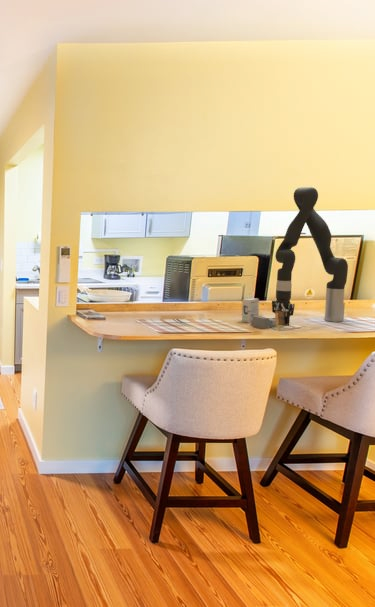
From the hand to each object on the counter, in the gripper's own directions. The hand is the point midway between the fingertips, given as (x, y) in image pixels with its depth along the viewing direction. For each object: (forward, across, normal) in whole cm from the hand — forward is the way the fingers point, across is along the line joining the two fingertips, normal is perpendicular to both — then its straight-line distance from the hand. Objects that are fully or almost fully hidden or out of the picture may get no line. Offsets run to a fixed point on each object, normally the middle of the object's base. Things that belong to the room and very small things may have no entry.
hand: (282, 322), depth 291 cm
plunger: (+1, -3, +8) cm, 9 cm away
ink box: (+1, +15, +8) cm, 17 cm away
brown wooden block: (+1, 0, 0) cm, 1 cm away
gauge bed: (+1, -2, +7) cm, 7 cm away
